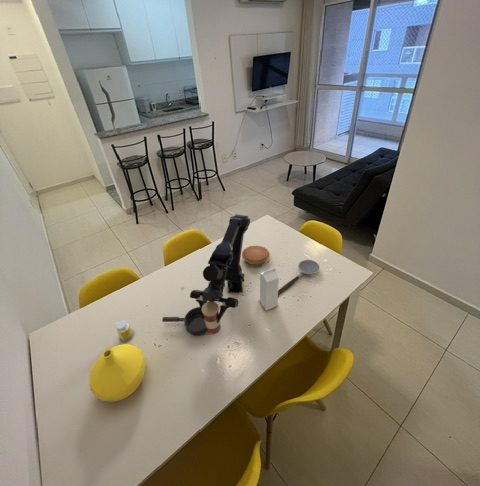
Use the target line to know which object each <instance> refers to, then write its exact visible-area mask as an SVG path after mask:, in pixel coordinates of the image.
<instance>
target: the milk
mask: <svg viewBox="0 0 480 486" xmlns="http://www.w3.org/2000/svg"><path fill="white" fill-rule="evenodd" d="M276 270H277V269H276V267H274V268H271V269H268V270H265V271H263V272H260V273H259V302H260V304H261V305H262V307H263V308H264V310H265V311H269V310H271V309H273V308H276V307H278V297H279V295H278V290H279V283H280V282H279V281H280V277H279V275H278V273H277V271H276Z"/></svg>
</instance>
